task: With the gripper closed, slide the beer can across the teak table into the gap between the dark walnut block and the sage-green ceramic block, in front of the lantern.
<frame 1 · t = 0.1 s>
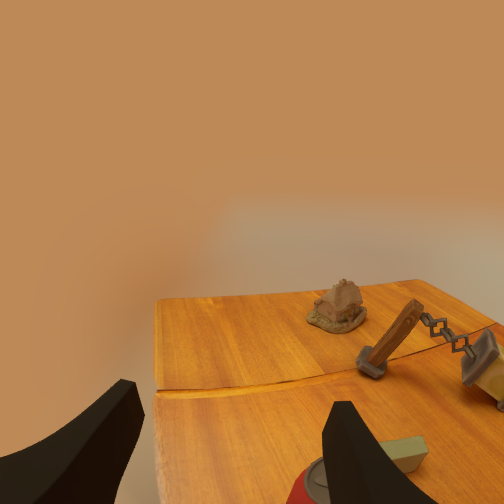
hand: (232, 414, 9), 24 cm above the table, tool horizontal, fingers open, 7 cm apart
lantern: (439, 387, 40), on the table
ceramic model: (336, 320, 65), on the table
ceramic block: (384, 468, 26), on the table
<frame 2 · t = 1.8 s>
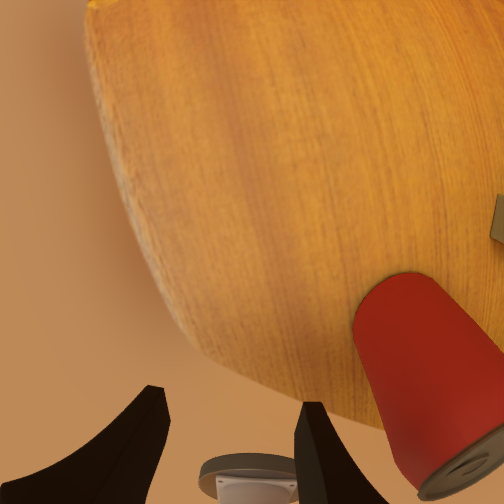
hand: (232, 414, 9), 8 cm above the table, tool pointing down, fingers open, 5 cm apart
beer can: (396, 313, 17), on the table
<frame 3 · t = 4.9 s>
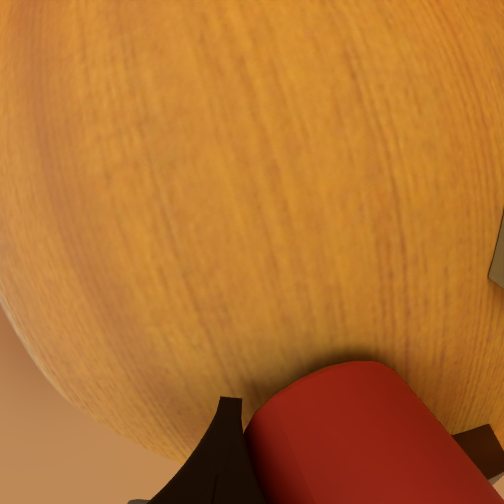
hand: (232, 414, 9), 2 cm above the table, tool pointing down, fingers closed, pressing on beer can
beer can: (318, 410, 10), point 1 cm above the table, touching gripper
walnut block: (439, 448, 13), on the table
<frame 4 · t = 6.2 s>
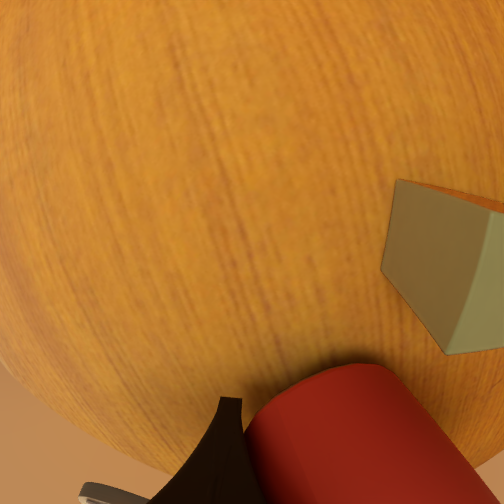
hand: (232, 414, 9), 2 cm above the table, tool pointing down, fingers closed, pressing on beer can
beer can: (318, 412, 10), point 1 cm above the table, touching gripper
ceramic block: (477, 238, 8), on the table
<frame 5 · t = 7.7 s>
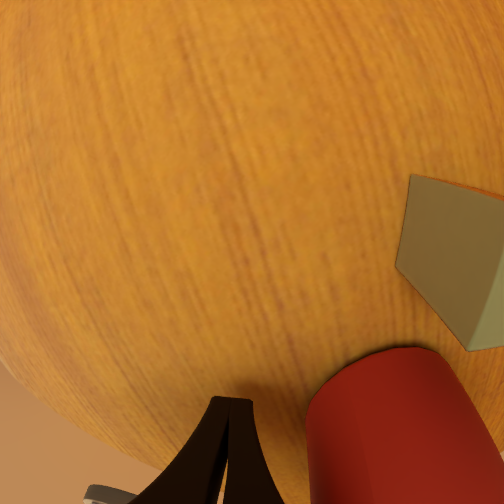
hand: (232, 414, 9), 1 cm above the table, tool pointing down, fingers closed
beer can: (377, 394, 11), on the table
ceramic block: (489, 233, 8), on the table
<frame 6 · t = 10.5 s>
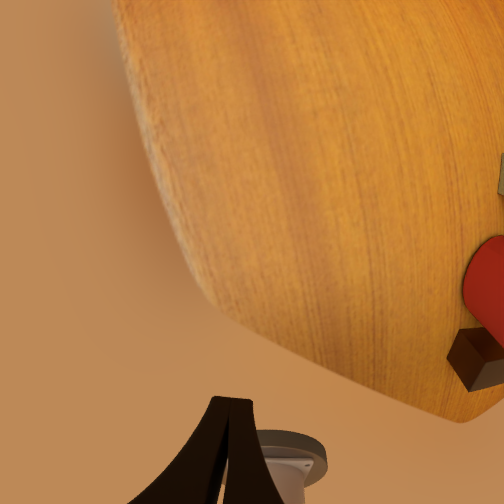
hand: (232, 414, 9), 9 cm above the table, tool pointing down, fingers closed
beer can: (488, 272, 17), on the table
walnut block: (483, 340, 19), on the table
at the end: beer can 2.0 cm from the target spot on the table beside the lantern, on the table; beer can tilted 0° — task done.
